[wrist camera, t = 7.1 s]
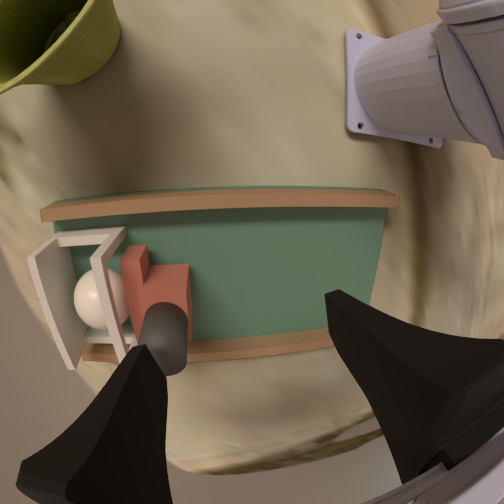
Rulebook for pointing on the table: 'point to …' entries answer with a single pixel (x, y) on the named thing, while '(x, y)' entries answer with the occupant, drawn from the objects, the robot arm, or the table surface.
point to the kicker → (159, 307)
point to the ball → (90, 303)
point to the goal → (63, 285)
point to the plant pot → (65, 46)
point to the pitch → (243, 258)
